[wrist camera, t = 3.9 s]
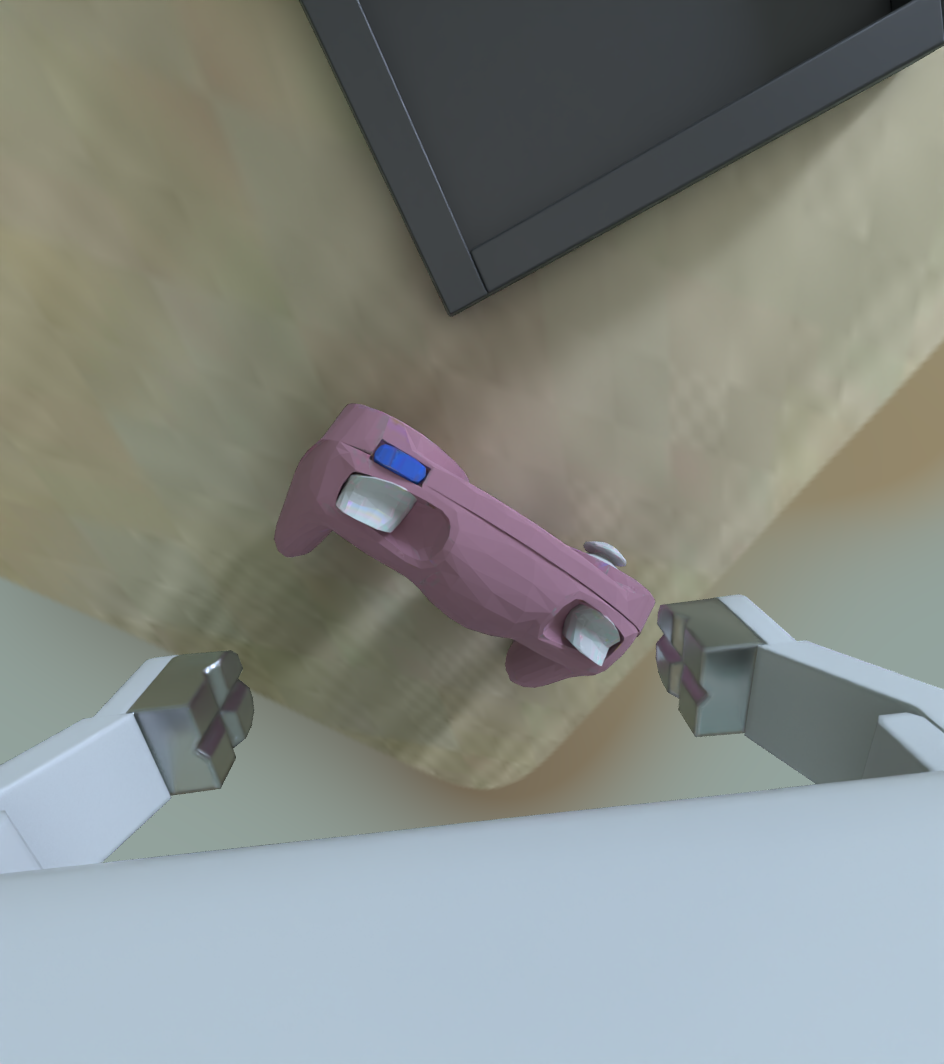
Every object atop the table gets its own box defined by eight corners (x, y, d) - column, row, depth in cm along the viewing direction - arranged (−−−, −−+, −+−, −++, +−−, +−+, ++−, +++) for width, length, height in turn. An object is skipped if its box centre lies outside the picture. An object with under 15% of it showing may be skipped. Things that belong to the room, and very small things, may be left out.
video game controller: (577, 571, 18) (727, 589, 12) (519, 683, 17) (643, 772, 11) (341, 418, 16) (358, 329, 9) (262, 541, 15) (216, 542, 8)
